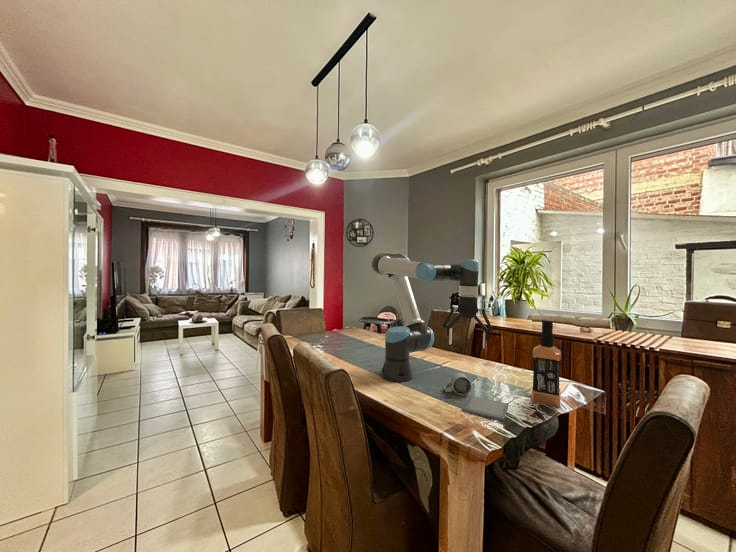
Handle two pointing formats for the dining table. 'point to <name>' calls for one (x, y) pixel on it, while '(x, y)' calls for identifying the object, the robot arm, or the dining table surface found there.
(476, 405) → the trivet
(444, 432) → the dining table surface
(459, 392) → the ceramic mug
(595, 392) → the dining table surface
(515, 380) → the dining table surface
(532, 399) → the whiskey bottle
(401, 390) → the dining table surface
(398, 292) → the robot arm
